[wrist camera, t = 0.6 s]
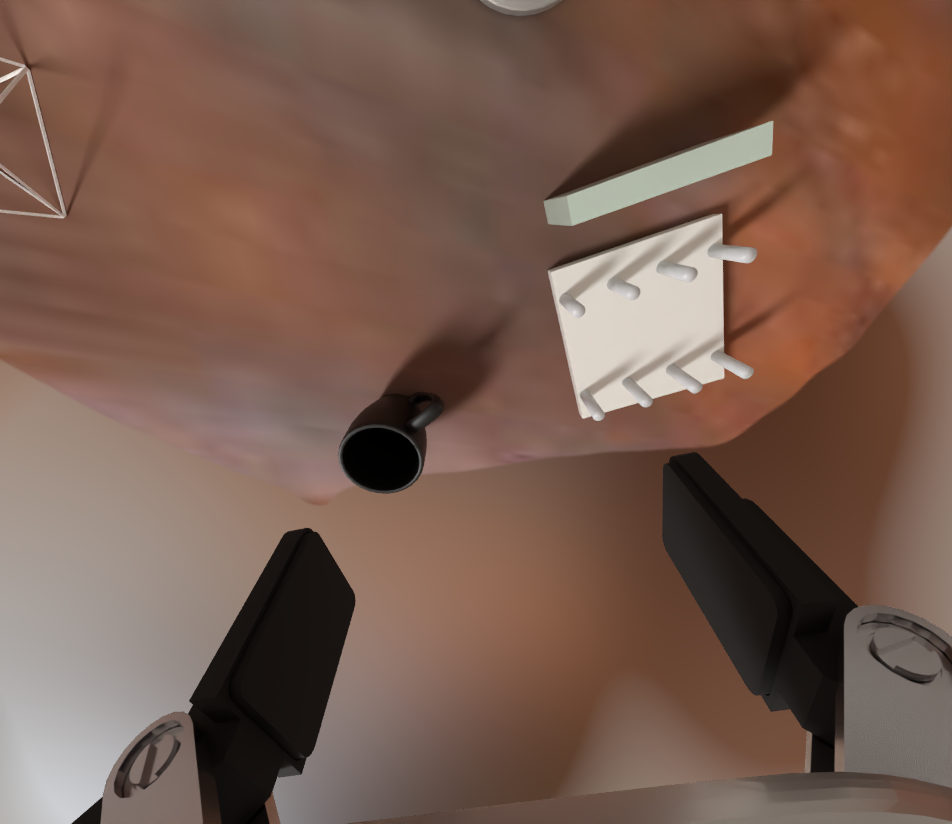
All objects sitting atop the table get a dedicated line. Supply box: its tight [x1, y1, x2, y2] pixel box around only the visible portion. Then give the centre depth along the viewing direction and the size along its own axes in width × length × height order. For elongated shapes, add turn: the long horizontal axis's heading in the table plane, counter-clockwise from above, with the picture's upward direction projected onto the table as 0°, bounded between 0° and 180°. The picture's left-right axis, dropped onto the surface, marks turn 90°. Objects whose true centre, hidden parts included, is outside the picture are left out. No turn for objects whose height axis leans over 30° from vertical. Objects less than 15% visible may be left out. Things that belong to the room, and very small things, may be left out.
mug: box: [338, 392, 444, 493], centre depth 40 cm, size 8×12×10 cm
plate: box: [544, 121, 773, 226], centre depth 30 cm, size 14×2×9 cm, turn 108°
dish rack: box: [548, 214, 757, 421], centre depth 37 cm, size 17×16×6 cm
